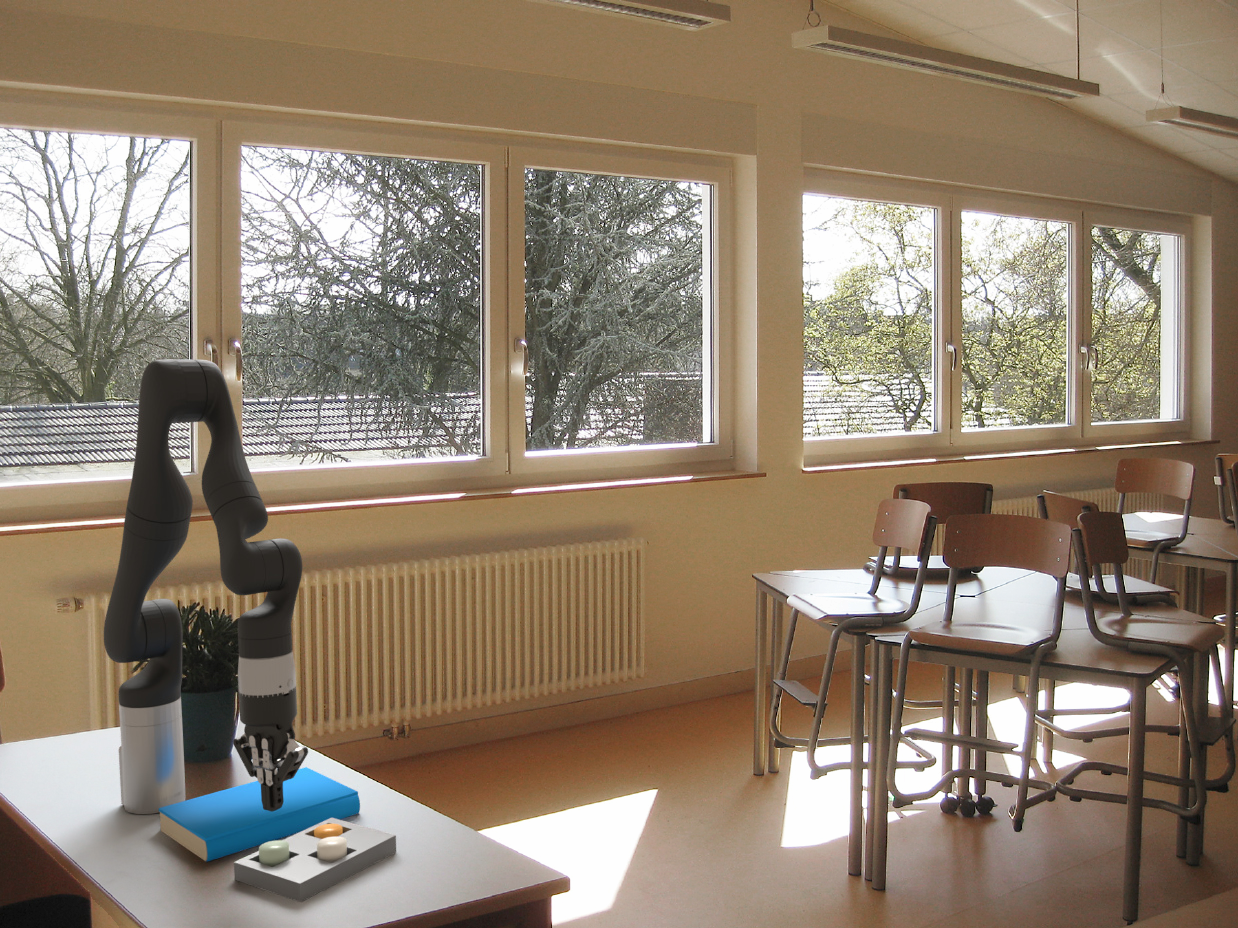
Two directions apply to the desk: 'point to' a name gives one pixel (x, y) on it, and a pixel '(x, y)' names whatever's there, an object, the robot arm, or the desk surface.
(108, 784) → the desk surface
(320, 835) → the button orange
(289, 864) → the panel
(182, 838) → the book
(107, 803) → the desk surface
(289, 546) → the robot arm
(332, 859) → the button ivory
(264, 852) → the button sage
